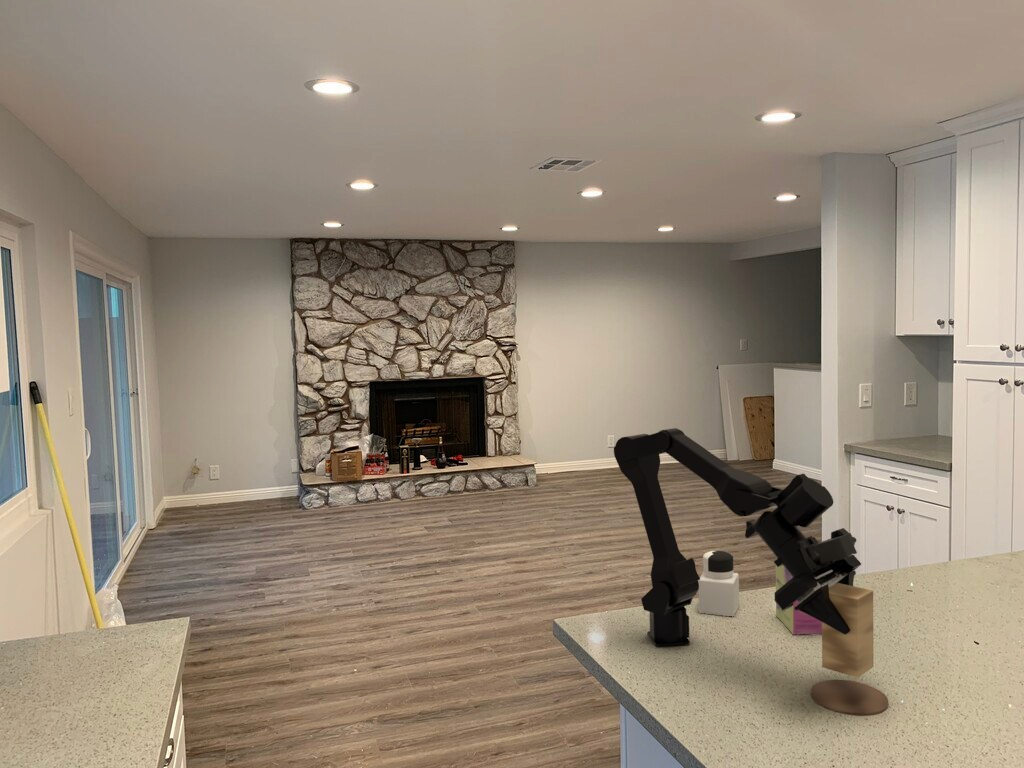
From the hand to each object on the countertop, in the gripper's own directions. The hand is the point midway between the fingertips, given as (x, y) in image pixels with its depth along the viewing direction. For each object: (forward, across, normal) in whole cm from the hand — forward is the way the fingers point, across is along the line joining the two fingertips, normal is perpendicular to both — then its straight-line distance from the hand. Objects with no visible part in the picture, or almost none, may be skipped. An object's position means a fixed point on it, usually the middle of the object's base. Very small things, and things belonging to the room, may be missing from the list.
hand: (856, 627), depth 118 cm
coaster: (+7, 0, +9) cm, 12 cm away
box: (-7, +24, +24) cm, 34 cm away
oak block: (+4, 0, +6) cm, 7 cm away
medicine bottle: (-18, +20, +35) cm, 45 cm away
